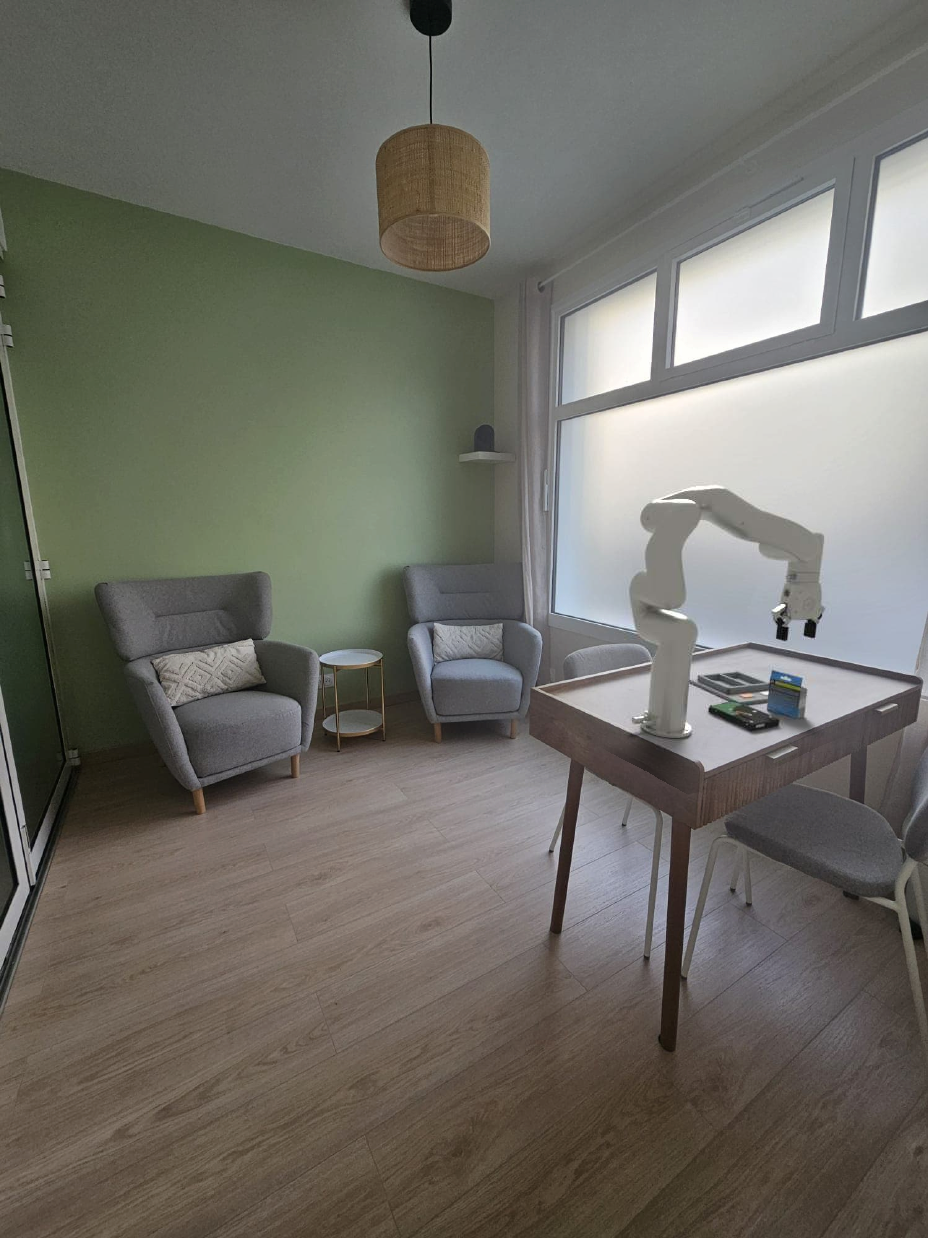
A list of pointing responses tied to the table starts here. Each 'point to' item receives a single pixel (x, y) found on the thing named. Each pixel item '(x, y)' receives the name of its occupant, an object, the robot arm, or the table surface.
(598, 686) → the table surface
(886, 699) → the table surface
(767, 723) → the disk drive
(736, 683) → the grey compartment tray
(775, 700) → the label tape box
